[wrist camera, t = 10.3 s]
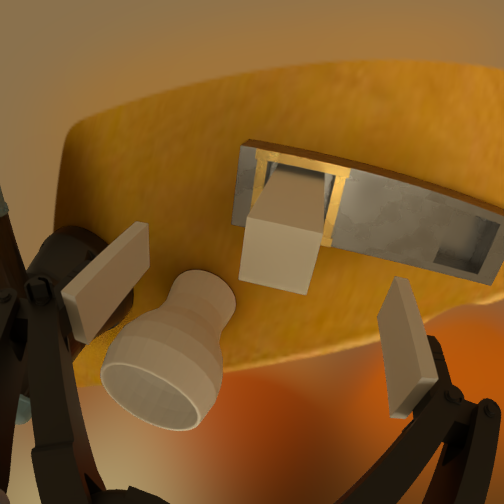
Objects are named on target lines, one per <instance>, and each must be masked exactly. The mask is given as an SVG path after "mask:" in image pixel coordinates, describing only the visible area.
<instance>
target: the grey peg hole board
mask: <svg viewBox="0 0 504 504" xmlns="http://www.w3.org/2000/svg"><path fill="white" fill-rule="evenodd" d="M278 163H281V164H286V165H291V166H296V167H301V168H306V169H310V170H315V171H319V172H324V173H325V190H324V225H323V236H322V240H321V244H320V245H322V246H326V247H335V248H340V249H344V250H348V251H353V252H357V253H361V254H365V255H370V256H374V257H378V258H382V259H386V260H390V261H395V262H399V263H403V264H407V265H411V266H415V267H419V268H423V269H427V270H431V271H435V272H439V273H443V274H447V275H451V276H455V277H459V278H463V279H467V280H470V281H474V282H478V283H482V284H486V285H490V286H491V285H492V283H493V281H494V279H495V277H496V275H497V273H498V271H499V269H500V267H501V265H502V263H503V261H504V209H502V208H499V207H497V206H494V205H492V204H489V203H486V202H484V201H481V200H479V199H476V198H473V197H470V196H468V195H465V194H462V193H459V192H456V191H454V190H451V189H448V188H445V187H442V186H439V185H436V184H433V183H430V182H426V181H423V180H420V179H417V178H414V177H410V176H407V175H404V174H400V173H397V172H393V171H390V170H386V169H383V168H379V167H375V166H372V165H368V164H364V163H360V162H356V161H352V160H348V159H344V158H340V157H336V156H331V155H327V154H322V153H318V152H313V151H309V150H304V149H299V148H294V147H289V146H284V145H279V144H273V143H268V142H262V141H257V140H251V139H249V140H247V141H246V142H245V143H243V144H242V145H241V147H240V155H239V163H238V171H237V180H236V188H235V196H234V205H233V214H232V222H231V224H232V225H237V226H241V227H246V220H247V216H248V214H249V212H250V211H251V209H252V207H253V206H254V204H255V202H256V201H257V199H258V197H259V195H260V194H261V192H262V190H263V189H264V187H265V185H266V184H267V182H268V180H269V179H270V177H271V175H272V173H273V172H274V170H275V168H276V167H277V165H278Z"/></svg>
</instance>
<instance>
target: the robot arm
mask: <svg viewBox="0 0 504 504" xmlns="http://www.w3.org/2000/svg"><path fill="white" fill-rule="evenodd" d="M8 211H9V209H8V206H7V203H6V202H5V201H4V198H3V194H2V191H1V187H0V504H10V501H9V499H8V497H7V495H6V493H7V487H8V483H9V476H10V466H11V454H12V444H13V434H14V428H15V424H18V425H20V424H25V423H26V422H28V421H29V420H30V419H31V417H32V423H33V431H34V438H35V448H33V449H32V451H31V457H32V463H33V468H34V473H35V478H36V483H37V487H38V491H39V496H40V500H41V503H42V504H170V503H168V502H166V501H165V500H163V499H161V498H160V497H158V496H155V495H152V494H150V493H147V492H144V491H142V490H139V489H137V488H134V487H132V486H129V487H128V490H118V489H116V490H106V488H105V485H104V483H103V481H102V479H101V477H100V475H99V473H98V471H97V467H96V464H95V461H94V457H93V454H92V451H91V447H90V443H89V440H88V436H87V432H86V429H85V425H84V420H83V416H82V412H81V407H80V402H79V397H78V392H77V387H76V382H75V376H74V370H73V364H72V363H73V361H74V360H75V359H76V357H77V356H78V354H79V353H80V352H81V351H82V349H83V348H84V347H85V345H86V344H87V345H89V343H90V342H91V341H92V340H93V339H95V338H96V337H98V336H99V335H101V334H102V333H104V332H105V331H107V330H110V329H112V328H114V327H116V326H117V325H118V324H119V323H120V322H121V321H122V320H123V319H124V318H125V316H126V315H127V314H128V312H129V311H130V309H131V307H132V303H133V290H132V288H133V287H134V285H135V284H136V283H137V282H138V281H139V279H140V278H141V277H142V276H143V274H144V273H145V272H146V271H147V270H148V268H149V267H150V258H149V227H148V223H143V222H138V221H136V222H135V223H133V224H132V225H131V226H130V227H129V228H128V229H127V230H125V231H124V232H123V233H122V234H121V235H120V236H119V237H118V238H116V239H115V240H114V241H113V242H112V243H111V244H110V245H109V246H108V245H107V244H106V243H105V242H104V241H103V240H102V239H101V238H99V237H98V236H97V235H95V234H93V233H92V232H90V231H88V230H86V229H83V228H80V227H76V226H66V227H62V228H60V229H58V230H57V231H56V232H54V233H53V234H51V235H50V236H49V237H48V238H47V239H46V240H45V241H44V242H43V244H42V246H41V247H40V250H39V252H38V254H37V255H36V256H35V258H34V259H33V261H32V263H31V264H30V266H29V267H28V269H27V270H25V267H24V264H23V261H22V258H21V255H20V252H19V249H18V246H17V243H16V240H15V236H14V233H13V230H12V226H11V223H10V219H9V215H8ZM377 319H378V325H379V331H380V338H381V344H382V351H383V358H384V366H385V374H386V382H387V391H388V400H389V410H390V418H403V419H405V418H406V417H408V415H409V414H410V413H411V412H412V411H413V420H412V421H411V422H410V423H409V424H408V425H407V426H406V427H405V428H404V429H403V431H402V433H401V434H400V435H399V437H398V438H397V439H396V440H395V441H394V442H393V444H392V445H391V446H390V447H389V448H388V449H387V450H386V452H385V453H384V454H383V455H382V456H381V457H380V458H379V459H378V461H376V463H375V464H374V465H373V466H372V467H371V468H370V469H369V470H368V471H367V472H366V473H365V474H364V475H363V476H362V477H361V478H360V479H359V480H358V481H357V482H356V483H355V484H354V485H353V486H352V487H351V488H350V489H349V490H348V491H347V492H346V493H345V494H344V495H342V496H341V497H340V498H339V499H338V500H337V501H336V502H335V503H334V504H396V503H397V502H398V501H399V500H400V499H401V497H402V496H403V495H404V493H405V492H406V491H407V490H408V489H409V487H410V486H411V485H412V483H413V482H414V481H415V480H416V478H417V477H418V476H419V474H420V473H421V471H422V470H423V468H424V467H425V466H426V464H427V463H428V462H429V460H430V459H431V457H432V456H433V454H434V453H435V451H436V450H437V448H438V447H439V445H440V444H441V442H444V445H443V448H442V451H441V455H440V457H439V460H438V463H437V466H436V469H435V472H434V474H433V477H432V480H431V482H430V485H429V487H428V490H427V492H426V495H425V497H424V499H423V502H422V504H484V503H485V500H486V496H487V492H488V488H489V484H490V480H491V475H492V471H493V466H494V461H495V455H496V450H497V443H498V437H499V430H500V422H501V410H500V408H499V406H498V405H497V403H496V402H494V401H493V400H492V399H488V398H486V399H483V400H481V401H480V402H479V403H478V404H475V403H472V402H469V401H467V400H465V399H464V395H463V393H462V392H461V390H460V389H459V388H458V387H456V386H454V385H452V383H451V379H450V375H449V372H448V368H447V365H446V362H445V358H444V355H443V352H442V348H441V345H440V343H439V342H438V341H437V339H436V338H435V337H434V336H429V335H426V332H425V328H424V325H423V322H422V319H421V316H420V313H419V310H418V307H417V304H416V301H415V298H414V295H413V292H412V289H411V286H410V283H409V281H408V279H406V278H401V277H396V276H395V277H394V280H393V282H392V284H391V287H390V289H389V291H388V294H387V296H386V298H385V300H384V303H383V305H382V307H381V309H380V311H379V314H378V316H377Z"/></svg>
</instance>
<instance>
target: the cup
mask: <svg viewBox="0 0 504 504" xmlns="http://www.w3.org/2000/svg"><path fill="white" fill-rule="evenodd" d="M235 307H236V301H235V296H234V294H233V292H232V290H231V289H230V287H229V286H228V285H227V284H226V283H225V282H224V281H223V280H222V279H221V278H219V277H218V276H216V275H214V274H212V273H210V272H206V271H202V270H190V271H185V272H184V273H182V274H180V275H179V276H178V277H177V278H176V279H175V281H174V283H173V285H172V287H171V289H170V292H169V294H168V297H167V300H166V301H165V302H164V303H163V304H162V305H161V306H160V307H159V308H157V309H154V310H151V311H148V312H146V313H144V314H142V315H140V316H139V317H137V318H136V319H134V320H133V321H131V322H130V323H128V324H127V325H125V326H124V327H123V329H122V330H121V331H120V333H119V334H118V335H117V337H116V338H115V339H114V341H113V342H112V343H111V345H110V346H109V348H108V351H107V354H106V356H105V359H104V362H103V365H102V367H101V373H100V378H101V381H102V384H103V386H104V388H105V389H106V391H107V392H108V394H109V395H110V396H111V397H112V398H113V399H114V400H115V402H117V403H118V404H119V405H120V406H121V407H123V408H124V409H125V410H126V411H128V412H129V413H131V414H132V415H134V416H135V417H137V418H139V419H141V420H143V421H145V422H147V423H149V424H152V425H155V426H157V427H160V428H165V429H168V430H175V431H184V430H190V429H193V428H195V427H197V426H198V425H199V423H200V422H201V421H202V419H203V418H204V417H205V415H206V414H207V413H208V411H209V410H210V408H211V407H212V406H213V405H214V403H215V401H216V398H217V396H218V393H219V390H220V387H221V383H222V377H223V358H222V354H221V349H220V345H219V340H220V335H221V331H222V330H223V329H224V327H225V326H226V324H227V323H228V321H229V320H230V318H231V317H232V315H233V313H234V312H235Z"/></svg>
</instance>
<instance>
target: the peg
mask: <svg viewBox="0 0 504 504" xmlns="http://www.w3.org/2000/svg"><path fill="white" fill-rule="evenodd" d="M324 190H325V173H324V172H319V171H315V170H310V169H306V168H301V167H296V166H291V165H286V164H281V163H278V165H277V167H276V168H275V170H274V172H273V173H272V175H271V177H270V179H269V180H268V182H267V184H266V185H265V187H264V189H263V190H262V192H261V194H260V195H259V197H258V199H257V201H256V202H255V204H254V206H253V207H252V209H251V211H250V212H249V214H248V216H247V220H246V227H245V234H244V242H243V249H242V256H241V264H240V271H239V279H238V280H242V281H246V282H251V283H255V284H259V285H263V286H268V287H272V288H276V289H281V290H285V291H289V292H294V293H298V294H303V295H306V294H307V291H308V287H309V284H310V280H311V277H312V273H313V270H314V266H315V262H316V259H317V255H318V251H319V248H320V244H321V240H322V236H323V225H324Z"/></svg>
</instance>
